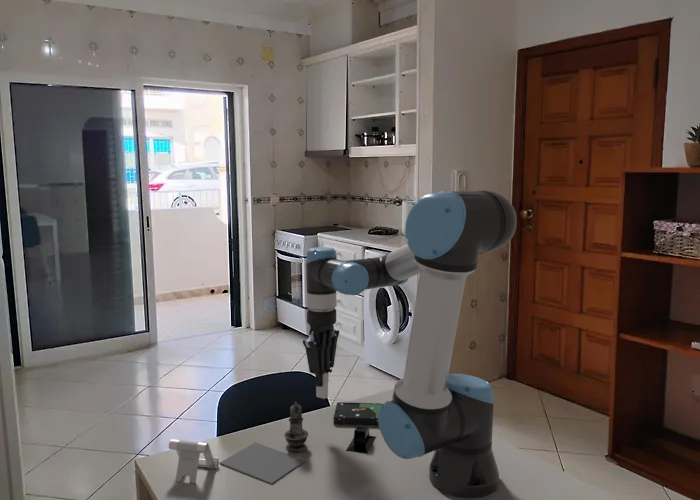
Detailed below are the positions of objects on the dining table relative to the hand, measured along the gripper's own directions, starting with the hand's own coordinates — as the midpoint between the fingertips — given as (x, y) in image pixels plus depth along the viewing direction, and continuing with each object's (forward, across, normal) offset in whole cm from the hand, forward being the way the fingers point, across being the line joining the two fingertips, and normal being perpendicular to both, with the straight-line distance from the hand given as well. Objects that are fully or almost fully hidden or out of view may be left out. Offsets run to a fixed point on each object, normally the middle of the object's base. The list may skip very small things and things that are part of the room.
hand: (322, 396), depth 149 cm
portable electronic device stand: (+10, +33, -12) cm, 36 cm away
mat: (+9, +21, -2) cm, 23 cm away
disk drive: (+10, -13, +4) cm, 17 cm away
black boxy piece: (+10, 0, +12) cm, 16 cm away
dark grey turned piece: (+10, +11, 0) cm, 15 cm away
